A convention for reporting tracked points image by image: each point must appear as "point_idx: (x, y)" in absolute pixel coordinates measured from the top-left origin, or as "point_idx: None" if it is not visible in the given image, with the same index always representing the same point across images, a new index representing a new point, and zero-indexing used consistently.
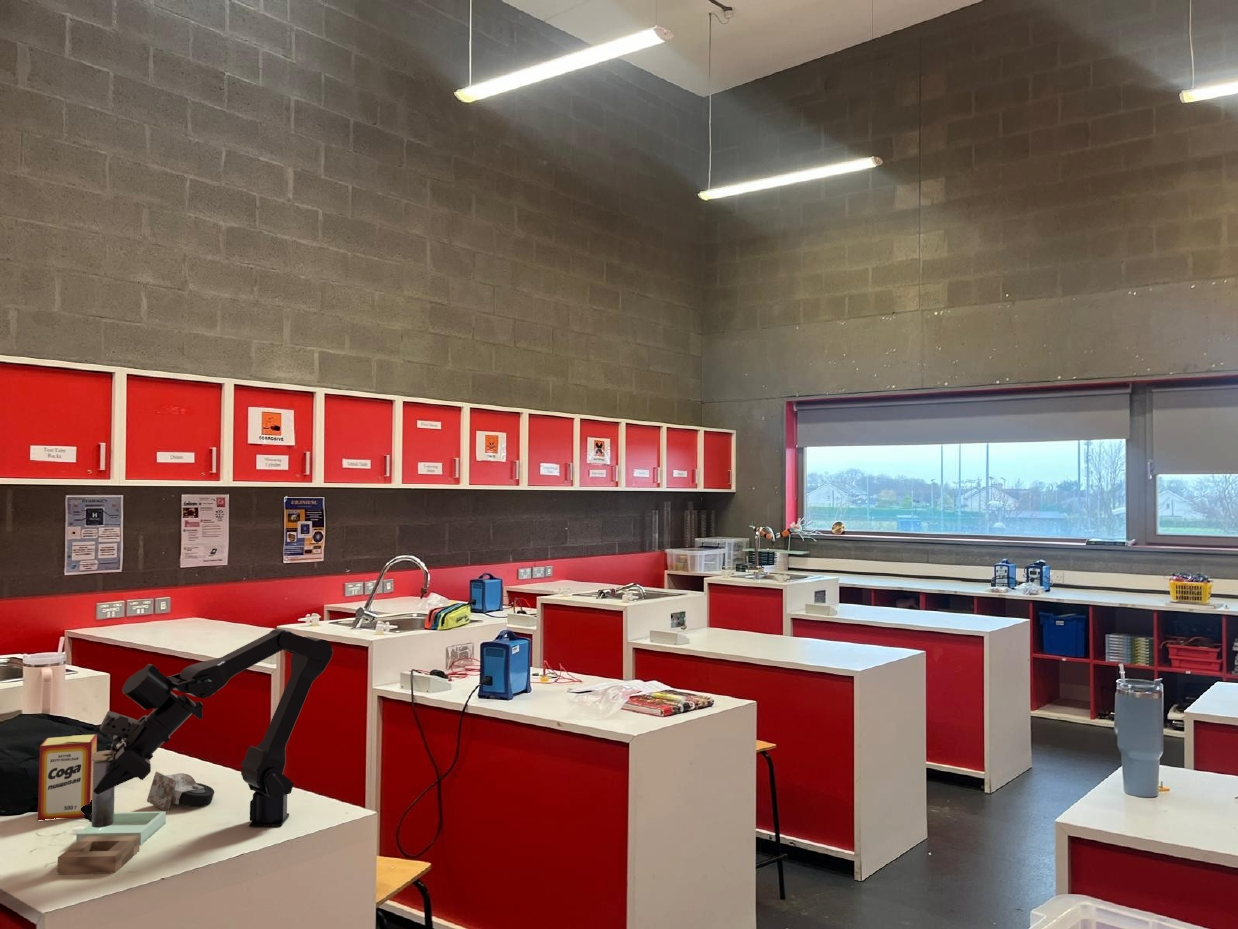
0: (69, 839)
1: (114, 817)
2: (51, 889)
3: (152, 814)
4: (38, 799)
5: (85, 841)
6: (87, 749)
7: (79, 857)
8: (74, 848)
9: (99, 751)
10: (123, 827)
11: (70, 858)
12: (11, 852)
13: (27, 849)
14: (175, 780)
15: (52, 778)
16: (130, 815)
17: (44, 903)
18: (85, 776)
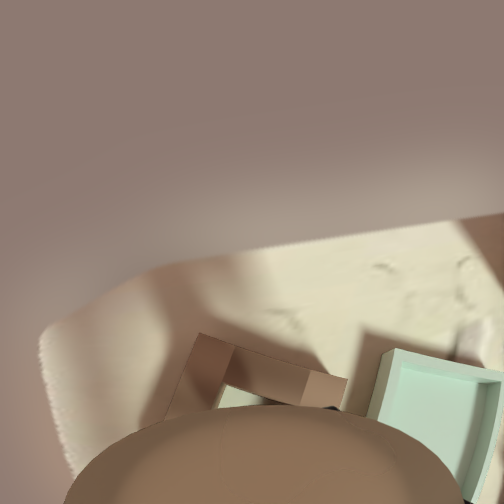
0: (432, 327)
1: (493, 398)
2: (123, 336)
3: (475, 484)
4: None
5: (304, 387)
6: None
7: (179, 384)
8: (254, 366)
9: (453, 484)
10: (456, 431)
11: (187, 363)
12: (380, 232)
13: (391, 257)
14: None
15: None
16: (488, 434)
17: (66, 327)
18: None
